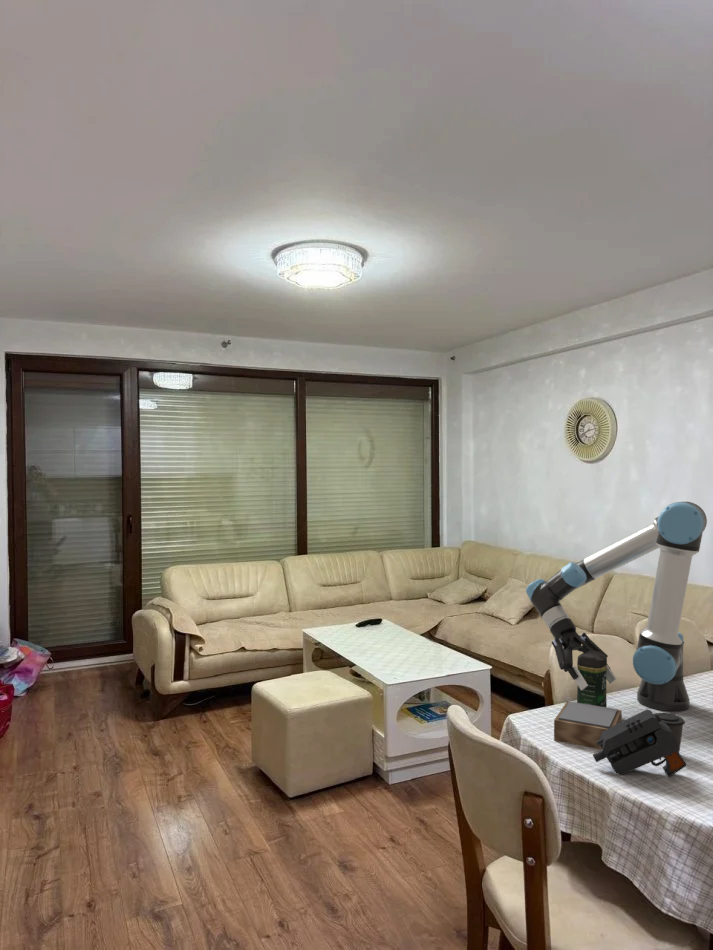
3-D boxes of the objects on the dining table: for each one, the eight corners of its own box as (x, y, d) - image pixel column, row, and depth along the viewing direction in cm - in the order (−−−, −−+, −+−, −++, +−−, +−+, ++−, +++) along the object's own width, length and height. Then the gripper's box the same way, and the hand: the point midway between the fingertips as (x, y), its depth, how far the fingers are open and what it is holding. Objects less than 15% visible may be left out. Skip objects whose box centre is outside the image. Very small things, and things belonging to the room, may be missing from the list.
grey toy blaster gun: (694, 769, 153) (660, 711, 155) (619, 803, 157) (586, 746, 158) (687, 759, 159) (654, 703, 161) (614, 791, 163) (583, 736, 164)
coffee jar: (600, 721, 192) (600, 657, 192) (573, 715, 197) (573, 653, 197) (610, 712, 200) (610, 651, 200) (584, 706, 205) (584, 646, 205)
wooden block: (621, 730, 185) (621, 708, 185) (612, 751, 171) (612, 728, 171) (566, 720, 193) (566, 699, 193) (554, 740, 178) (554, 718, 178)
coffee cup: (684, 750, 171) (684, 712, 171) (685, 763, 164) (685, 723, 164) (650, 745, 175) (650, 707, 175) (650, 757, 167) (650, 718, 167)
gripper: (578, 626, 218) (617, 684, 205) (525, 634, 205) (563, 697, 192) (591, 613, 213) (632, 672, 200) (538, 621, 201) (578, 684, 188)
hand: (599, 684), depth 196 cm, fingers open, 12 cm apart
